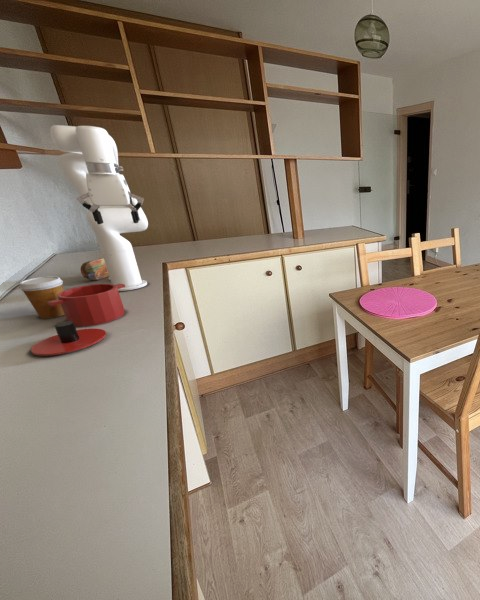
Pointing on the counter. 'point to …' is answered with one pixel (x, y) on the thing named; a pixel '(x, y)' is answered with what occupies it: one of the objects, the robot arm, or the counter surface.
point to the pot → (91, 304)
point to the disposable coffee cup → (43, 295)
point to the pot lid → (68, 340)
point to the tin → (94, 269)
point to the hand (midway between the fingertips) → (118, 223)
